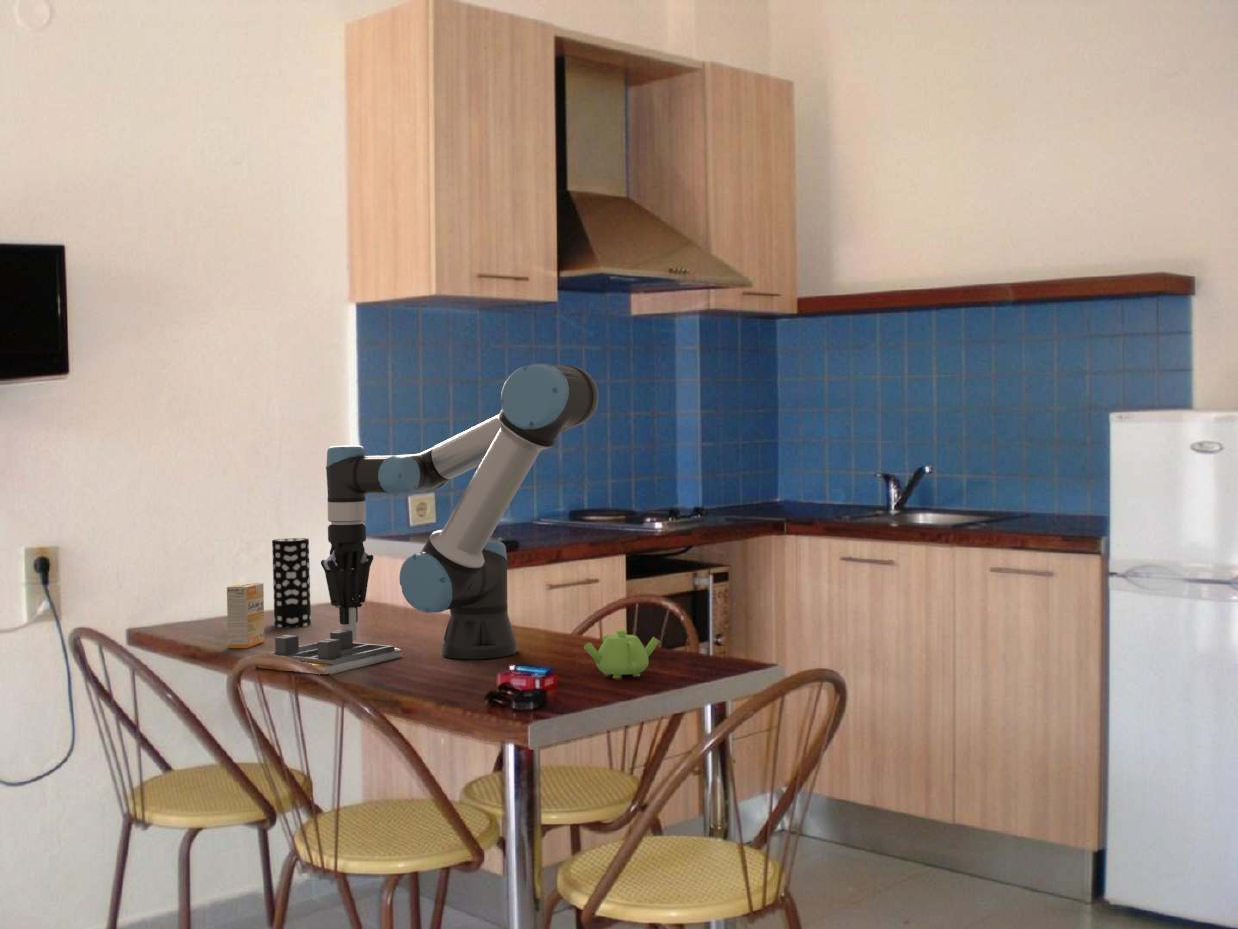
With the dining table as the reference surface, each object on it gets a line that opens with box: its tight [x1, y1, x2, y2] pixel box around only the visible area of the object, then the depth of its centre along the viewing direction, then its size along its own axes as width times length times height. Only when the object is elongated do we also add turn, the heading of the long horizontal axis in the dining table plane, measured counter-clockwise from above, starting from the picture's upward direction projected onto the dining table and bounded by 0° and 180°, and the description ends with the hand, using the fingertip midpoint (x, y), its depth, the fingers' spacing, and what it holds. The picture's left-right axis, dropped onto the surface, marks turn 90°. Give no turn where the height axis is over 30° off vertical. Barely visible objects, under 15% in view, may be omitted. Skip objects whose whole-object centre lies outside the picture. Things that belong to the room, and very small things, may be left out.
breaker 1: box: [274, 634, 300, 655], centre depth 269 cm, size 3×4×4 cm
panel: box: [270, 641, 403, 675], centre depth 272 cm, size 18×22×2 cm
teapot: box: [583, 629, 661, 678], centre depth 252 cm, size 11×12×8 cm
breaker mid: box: [329, 629, 354, 650], centre depth 275 cm, size 3×4×4 cm
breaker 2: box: [316, 638, 341, 660], centre depth 264 cm, size 3×4×4 cm
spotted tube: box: [271, 537, 312, 629], centre depth 323 cm, size 8×8×20 cm
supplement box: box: [226, 582, 265, 649], centre depth 294 cm, size 8×5×13 cm, turn 168°
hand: (349, 639), depth 277 cm, fingers closed
